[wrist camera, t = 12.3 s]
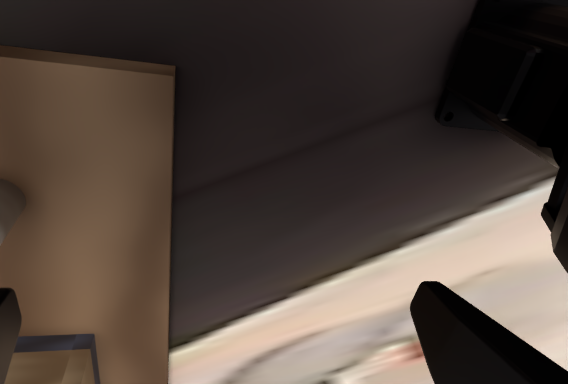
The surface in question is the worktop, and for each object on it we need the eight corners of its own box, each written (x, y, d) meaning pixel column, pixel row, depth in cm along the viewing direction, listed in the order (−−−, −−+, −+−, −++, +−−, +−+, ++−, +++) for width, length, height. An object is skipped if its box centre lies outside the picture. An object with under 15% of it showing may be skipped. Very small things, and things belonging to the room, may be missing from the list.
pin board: (175, 65, 16) (165, 120, 11) (167, 395, 29) (161, 490, 24) (-262, 14, 13) (-548, 60, 8) (-58, 413, 25) (-121, 529, 20)
